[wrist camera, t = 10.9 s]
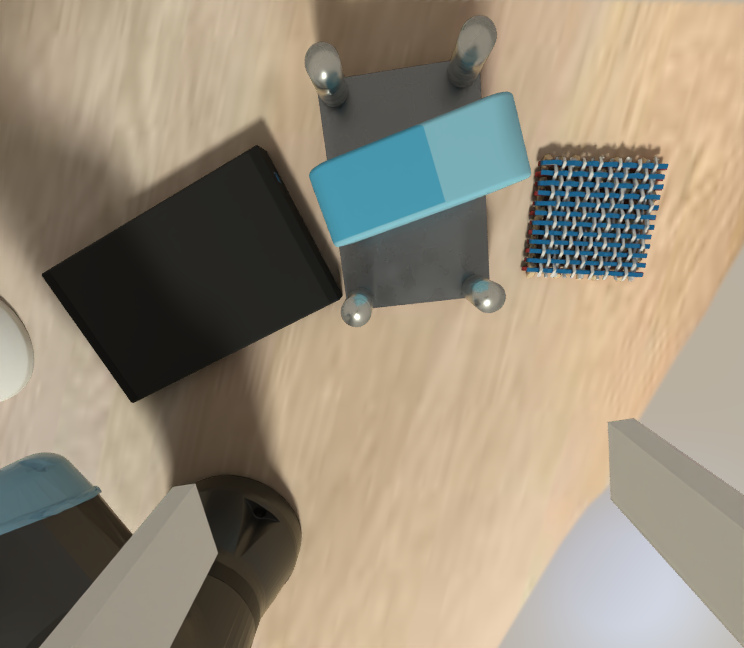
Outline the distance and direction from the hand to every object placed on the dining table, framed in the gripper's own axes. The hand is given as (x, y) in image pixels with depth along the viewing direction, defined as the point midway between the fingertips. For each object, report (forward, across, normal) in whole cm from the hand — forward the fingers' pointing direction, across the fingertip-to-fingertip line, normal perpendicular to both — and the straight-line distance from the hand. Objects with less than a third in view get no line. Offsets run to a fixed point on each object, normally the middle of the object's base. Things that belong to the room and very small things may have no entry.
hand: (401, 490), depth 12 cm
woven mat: (+24, +19, +6) cm, 31 cm away
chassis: (+24, +4, +11) cm, 26 cm away
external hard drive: (+25, -17, +7) cm, 31 cm away
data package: (+23, +4, +11) cm, 26 cm away
